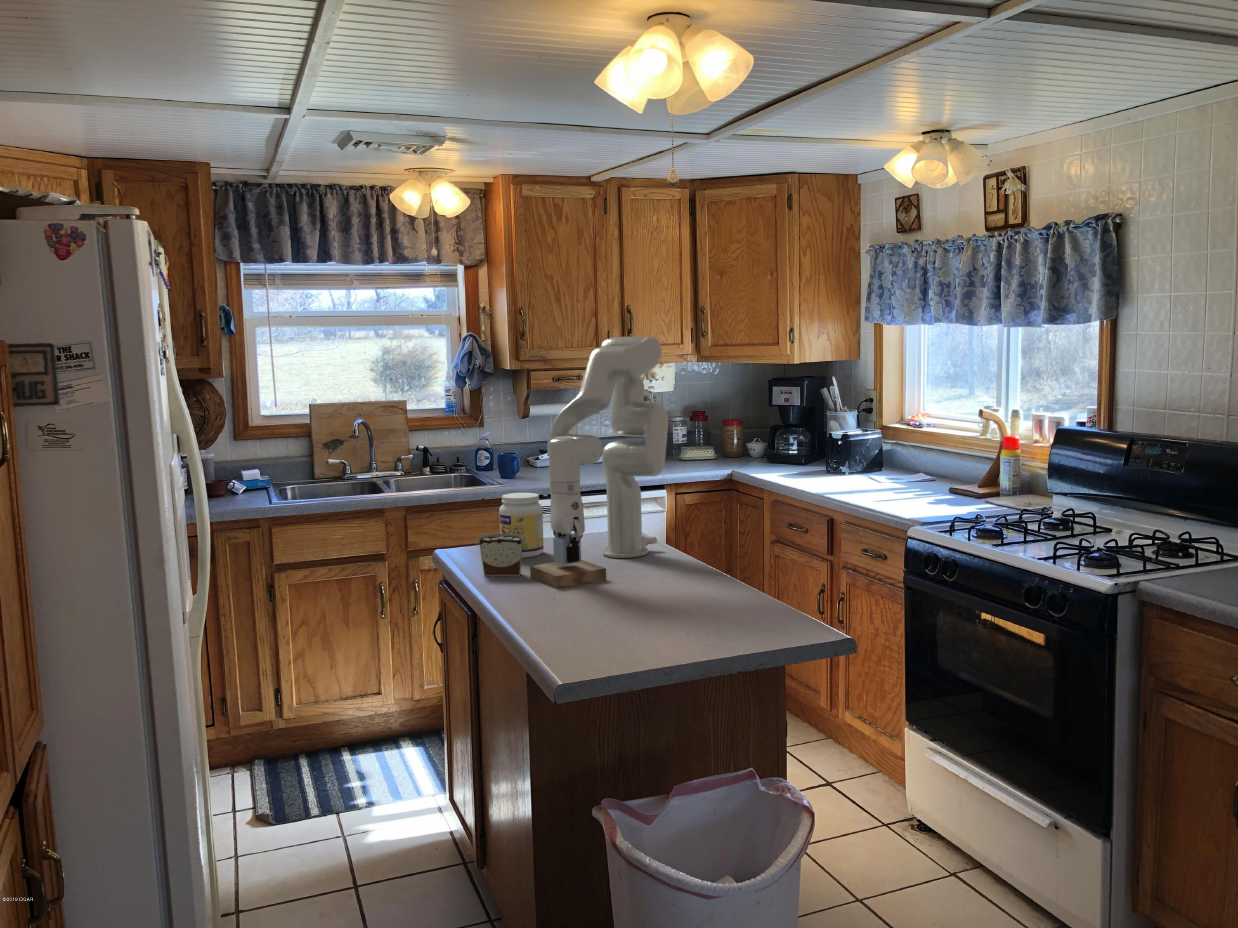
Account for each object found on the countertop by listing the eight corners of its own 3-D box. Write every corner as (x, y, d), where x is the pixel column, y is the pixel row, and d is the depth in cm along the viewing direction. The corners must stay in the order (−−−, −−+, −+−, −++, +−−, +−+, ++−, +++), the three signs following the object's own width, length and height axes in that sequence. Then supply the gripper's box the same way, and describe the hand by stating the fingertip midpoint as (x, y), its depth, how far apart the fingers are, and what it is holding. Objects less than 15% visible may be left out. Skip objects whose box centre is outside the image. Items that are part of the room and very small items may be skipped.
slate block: (571, 558, 252) (570, 535, 251) (581, 561, 248) (580, 538, 247) (554, 561, 249) (553, 537, 249) (563, 564, 245) (562, 540, 244)
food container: (530, 570, 260) (528, 532, 258) (525, 575, 254) (524, 537, 252) (484, 570, 261) (482, 532, 260) (478, 575, 255) (476, 537, 254)
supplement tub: (493, 558, 276) (491, 498, 274) (511, 549, 287) (508, 491, 285) (534, 559, 272) (532, 499, 270) (550, 550, 284) (548, 492, 282)
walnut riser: (578, 569, 258) (578, 558, 258) (606, 579, 247) (606, 568, 246) (530, 577, 251) (530, 566, 251) (556, 588, 239) (556, 576, 239)
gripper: (595, 490, 241) (597, 563, 243) (562, 482, 255) (564, 552, 258) (568, 493, 237) (570, 567, 239) (536, 485, 251) (538, 556, 254)
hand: (567, 558), depth 248 cm, fingers closed on slate block, 5 cm apart
